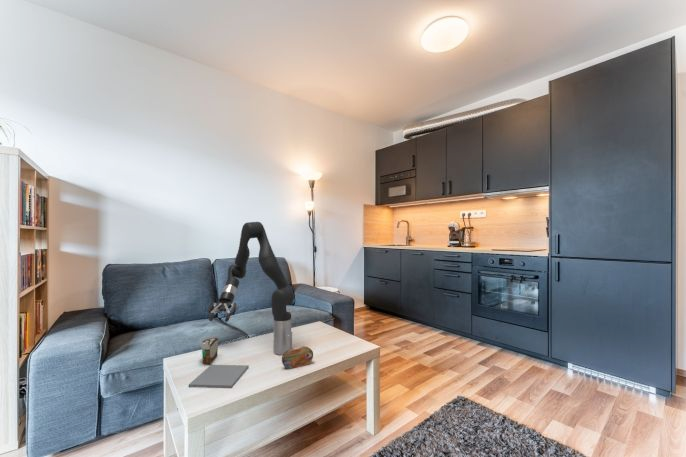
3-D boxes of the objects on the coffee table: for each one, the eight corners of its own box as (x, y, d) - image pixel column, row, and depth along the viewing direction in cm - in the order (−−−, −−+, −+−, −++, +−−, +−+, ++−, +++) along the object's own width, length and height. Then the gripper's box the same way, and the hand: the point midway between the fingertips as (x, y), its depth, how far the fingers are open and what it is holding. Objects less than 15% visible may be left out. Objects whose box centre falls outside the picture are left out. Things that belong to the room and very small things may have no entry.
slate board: (248, 367, 135) (248, 365, 135) (231, 388, 117) (231, 385, 117) (211, 366, 136) (211, 364, 136) (188, 386, 118) (188, 384, 118)
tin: (282, 370, 132) (282, 352, 132) (280, 368, 134) (280, 349, 135) (313, 363, 139) (313, 346, 139) (311, 361, 141) (311, 344, 142)
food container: (206, 356, 148) (206, 336, 148) (218, 355, 148) (218, 336, 149) (195, 367, 136) (195, 345, 136) (209, 366, 136) (209, 345, 136)
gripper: (213, 290, 162) (202, 317, 151) (238, 291, 162) (229, 317, 150) (218, 298, 168) (207, 324, 156) (242, 298, 167) (233, 324, 155)
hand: (218, 320), depth 153 cm, fingers open, 8 cm apart
